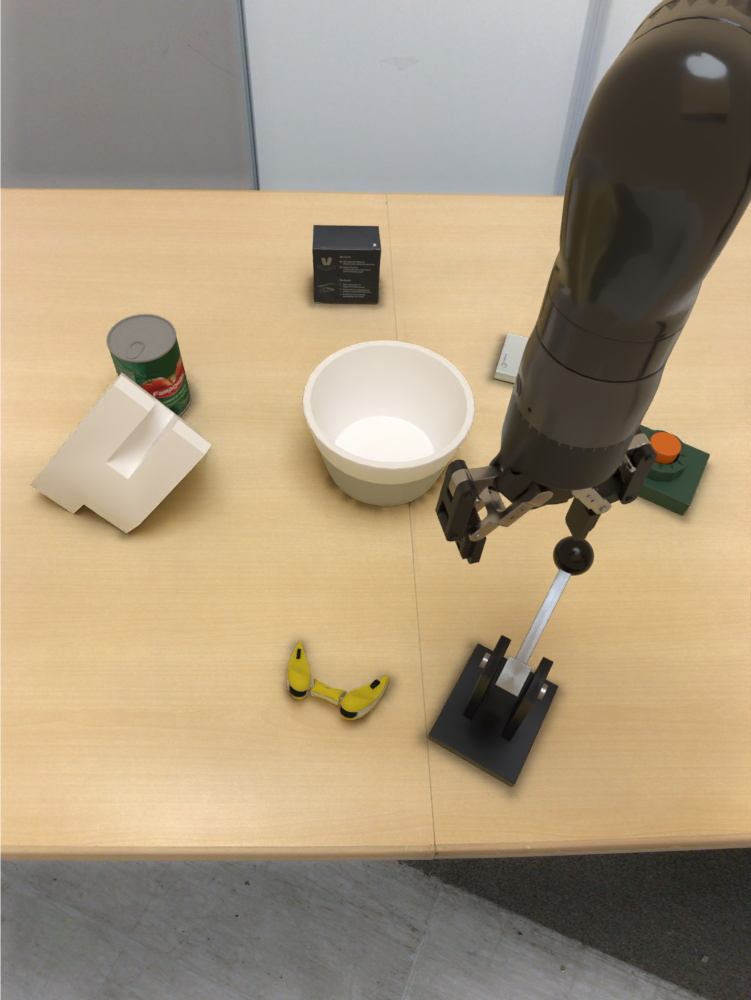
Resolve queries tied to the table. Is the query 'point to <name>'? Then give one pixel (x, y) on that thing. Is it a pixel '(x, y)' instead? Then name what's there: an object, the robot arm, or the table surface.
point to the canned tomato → (151, 358)
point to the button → (665, 447)
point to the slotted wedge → (122, 457)
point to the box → (346, 263)
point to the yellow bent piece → (351, 702)
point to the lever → (546, 609)
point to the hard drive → (510, 357)
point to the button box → (674, 477)
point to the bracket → (494, 714)
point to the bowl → (387, 418)
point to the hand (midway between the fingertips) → (522, 541)
